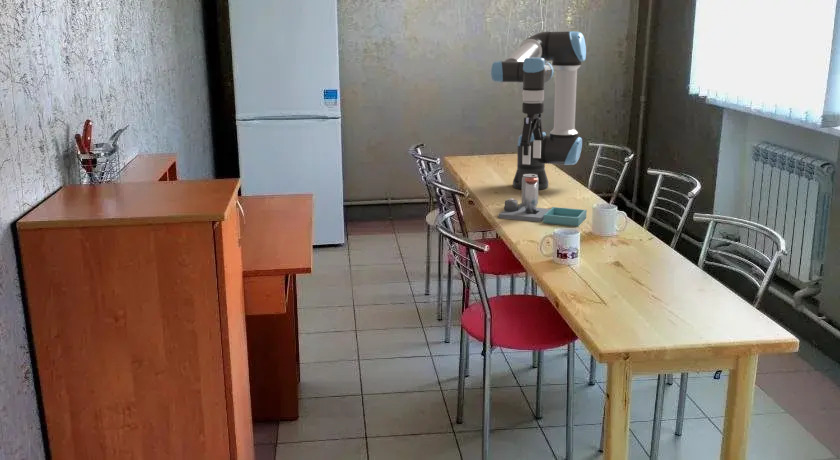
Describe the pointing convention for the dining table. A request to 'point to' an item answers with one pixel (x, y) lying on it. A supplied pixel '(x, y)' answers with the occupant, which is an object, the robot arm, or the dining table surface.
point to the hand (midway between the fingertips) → (531, 161)
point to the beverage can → (525, 187)
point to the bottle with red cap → (530, 195)
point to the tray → (565, 216)
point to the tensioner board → (521, 212)
